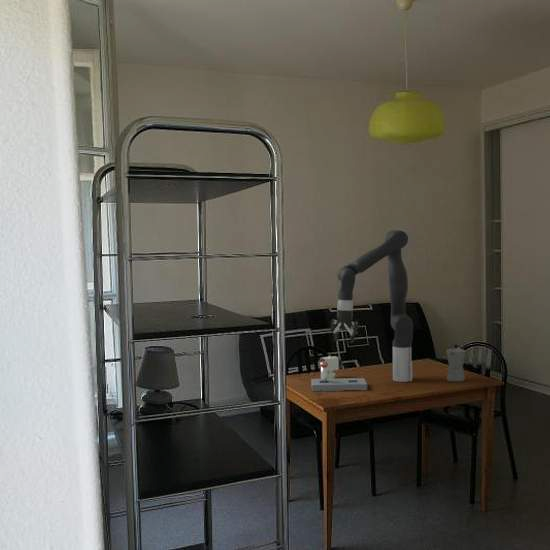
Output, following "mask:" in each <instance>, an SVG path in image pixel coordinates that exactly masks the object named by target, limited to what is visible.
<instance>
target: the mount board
mask: <svg viewBox="0 0 550 550" xmlns="http://www.w3.org/2000/svg"><path fill="white" fill-rule="evenodd" d="M310 382H311V383H310V384H311V390H312V392H343V391H344V390H361V391H368V383H367V381H366V379H365V377H362V378H361V377H358V378H357V377H356V378H355V377H354V378H353V377H350V378H345V377H344V378H334V379H327V383H321V378H310ZM320 390H322V391H320ZM342 390H343V391H342ZM344 392H345V391H344Z"/></svg>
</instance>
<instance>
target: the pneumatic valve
mask: <svg viewBox="0 0 550 550" xmlns="http://www.w3.org/2000/svg"><path fill="white" fill-rule="evenodd" d="M320 362H328V366H327V379H336V378H335V377H336V372H335V371H339V370H340V369H341V367H342V366H343V361H342V358H340V357H338V356H336V355H334V356H331V355H328V356H323V357H321V356H320V357H319V359H318V361H317V366H318V367H317V368H318V369H320V371H321V366H320Z"/></svg>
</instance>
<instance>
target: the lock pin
mask: <svg viewBox="0 0 550 550" xmlns="http://www.w3.org/2000/svg"><path fill="white" fill-rule="evenodd" d="M320 366H321V370H320V379H321V383H327V372H328V371H327V366H328V362H320Z"/></svg>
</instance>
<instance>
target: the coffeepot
mask: <svg viewBox="0 0 550 550" xmlns="http://www.w3.org/2000/svg"><path fill="white" fill-rule="evenodd" d="M453 346H454V347H453V348H449V349H448V348H447V349H446V354H447V356H446V357H447V363H448V369H447V374H446V380H447V382H450V381H464V380H465V381H466V377H465V371H464V363H465V356H466V350H465V349H463V348H462V347H461V346H459V347H458V344H454V345H453ZM465 381H464V382H465Z"/></svg>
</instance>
